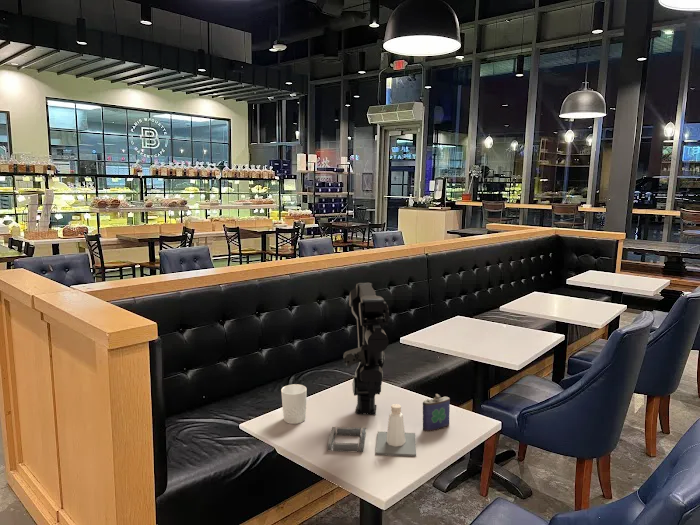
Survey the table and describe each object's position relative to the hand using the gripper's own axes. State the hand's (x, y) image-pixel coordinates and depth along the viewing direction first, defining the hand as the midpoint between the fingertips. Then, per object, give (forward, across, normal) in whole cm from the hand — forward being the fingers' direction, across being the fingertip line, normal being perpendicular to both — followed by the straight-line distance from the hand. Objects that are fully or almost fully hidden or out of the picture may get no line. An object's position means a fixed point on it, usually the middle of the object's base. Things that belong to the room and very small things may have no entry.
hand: (372, 391), depth 154 cm
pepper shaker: (+13, +6, +7) cm, 15 cm away
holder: (+13, +6, -7) cm, 16 cm away
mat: (+13, +6, +7) cm, 16 cm away
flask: (+13, -5, +19) cm, 24 cm away
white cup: (+13, -7, -25) cm, 29 cm away
